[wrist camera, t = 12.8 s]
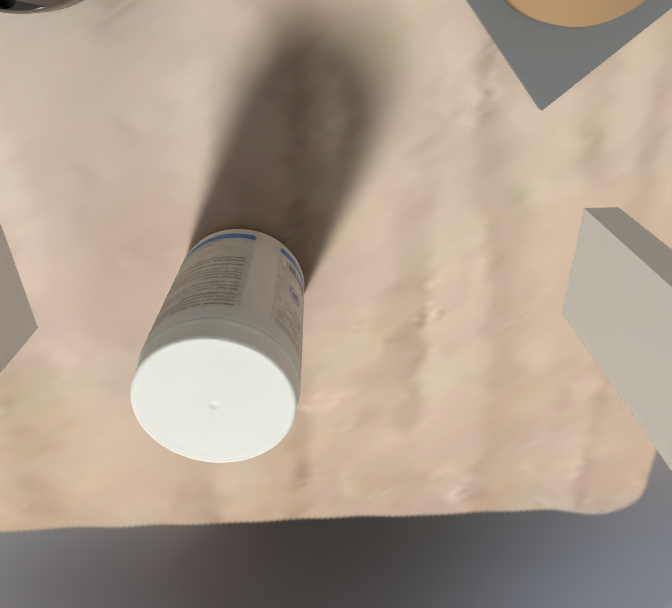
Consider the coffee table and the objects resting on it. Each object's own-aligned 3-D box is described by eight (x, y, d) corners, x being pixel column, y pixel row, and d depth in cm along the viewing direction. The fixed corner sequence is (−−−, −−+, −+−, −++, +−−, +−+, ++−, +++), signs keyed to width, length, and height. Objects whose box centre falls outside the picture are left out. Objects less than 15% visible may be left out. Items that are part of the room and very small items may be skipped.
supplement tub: (169, 307, 44) (105, 438, 32) (203, 204, 40) (145, 308, 27) (282, 346, 46) (264, 484, 34) (326, 252, 42) (325, 370, 29)
